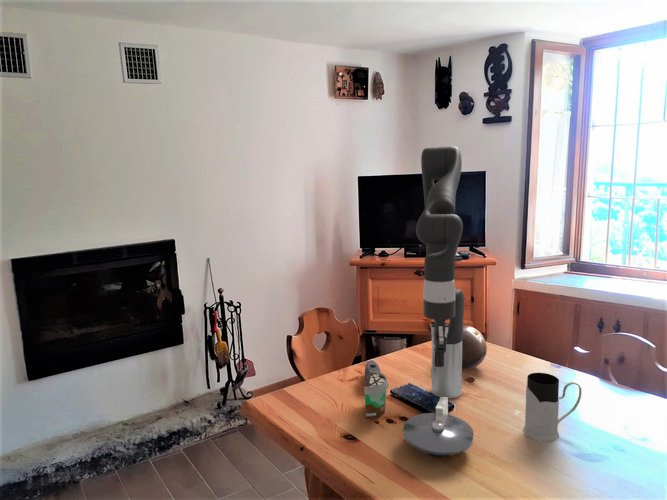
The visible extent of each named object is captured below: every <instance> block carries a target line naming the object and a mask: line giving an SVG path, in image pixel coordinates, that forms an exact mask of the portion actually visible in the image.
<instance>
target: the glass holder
mask: <svg viewBox="0 0 667 500" xmlns="http://www.w3.org/2000/svg"><path fill="white" fill-rule="evenodd" d="M526 378H527V379H526V380H527V382H526V387H525V389H526V390H525V392H526V393H525V414H524V415H525V418H524V419H525V421H524V426H523V428H522V431H523V433H524V434H525V436H527V437H529V438H530V439H532V440H536V441H539V442H545V443H546V442H547V443H548V442H549V443H550V442H554V441H556V440H559V438H560V434H559V433H560V432H559V429H558V427H559V424H560V422H561V421H563V420H564V419H565V418H567V417H568V416H570V415H571V414H572V413H573V412H574V411H575V410H576V408H577V407H578V405H579V403H580V402H581V398H582V387H581V385H580V384H578V383H577V382H574V381H572V382H571V381H570V382H568V383H566V384H565V385H564V387H563V391H562V395H561V396H559V389H560V388H559V387H560V379H559V378H558V377H557V376H556V375H553V374H549V373H546V372H532V373H529V374H528V375H527V377H526ZM571 385H576V386H578V390H579V392H578V397H577V400H576V402H575V404H574V405H573V407H572V408H570V410H569V411H568V412H566V413H565V414H563V416H561V417H560V418H559V408H560V407H559V404H560V400H562V399H563V400H564V398H565V397H566V391H567V389H568V387H570V386H571Z"/></svg>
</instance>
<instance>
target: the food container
mask: <svg viewBox="0 0 667 500" xmlns="http://www.w3.org/2000/svg"><path fill="white" fill-rule="evenodd" d="M380 372H381V371H380ZM380 372H377V371H370V376H369V379H368V382H367V384H366V385H365V386H364V390H363V391H364V395H363V396H364V406H365V407H364V408H365V419H370V420H372V419H377V418H381V417H382V416H384V414H385V413H386V401H387V400H386V399H387V390H388V388H389V386H390V385H389V381H388V378H387V376H386V375H385V374H384V373H382V372H381V373H380Z"/></svg>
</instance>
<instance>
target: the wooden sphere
mask: <svg viewBox="0 0 667 500" xmlns="http://www.w3.org/2000/svg"><path fill="white" fill-rule="evenodd" d="M486 355H487V341H486V339H485V337H484V336H483V334H482V333H481V332H480V331H479V330H477V328H474V327H473V326H471V325H470V326H468V325H464V324H463V334H462V370H471V369H475V368H476V367H478V366H480V364H482V362H483V361H484V359H485V357H486Z"/></svg>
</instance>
